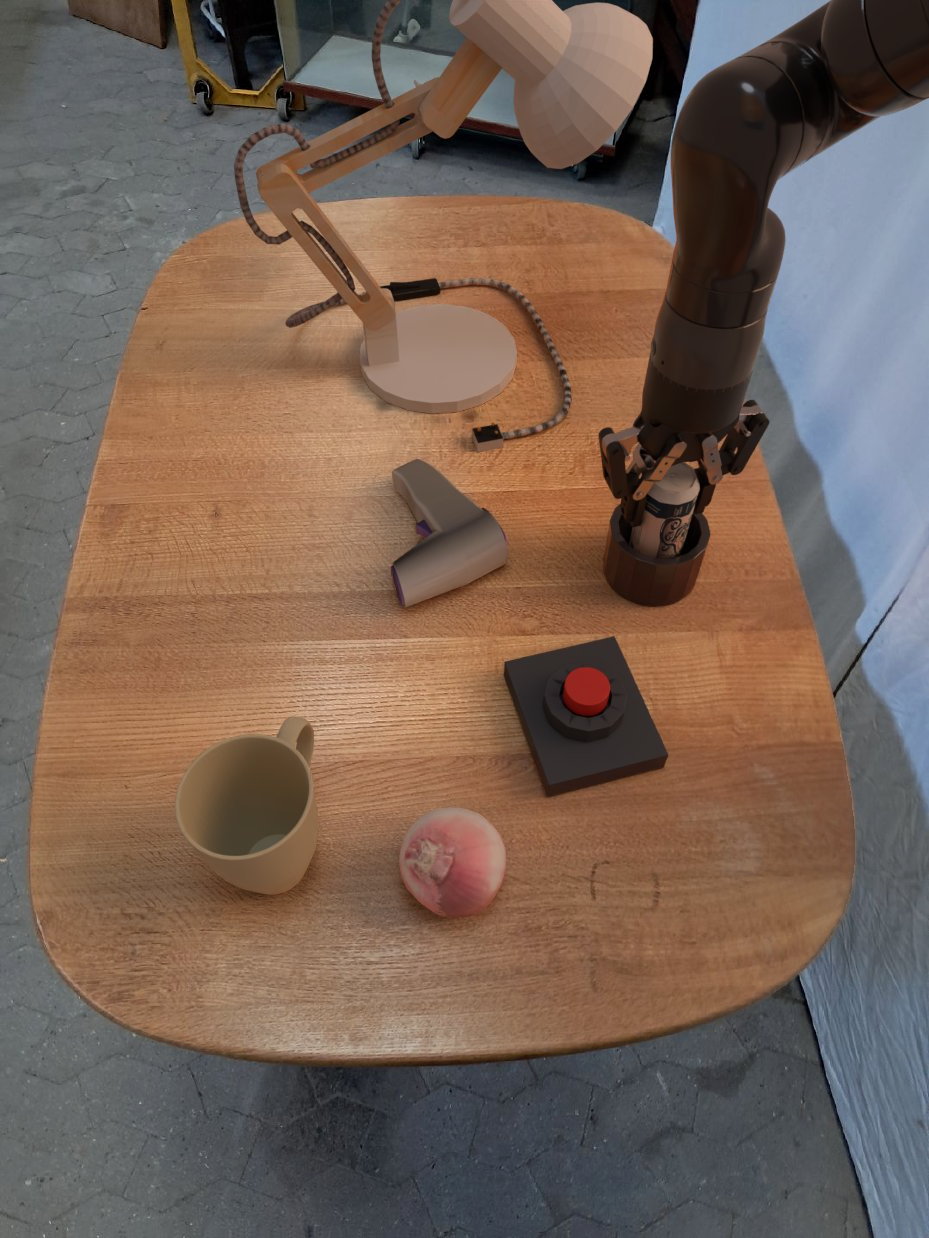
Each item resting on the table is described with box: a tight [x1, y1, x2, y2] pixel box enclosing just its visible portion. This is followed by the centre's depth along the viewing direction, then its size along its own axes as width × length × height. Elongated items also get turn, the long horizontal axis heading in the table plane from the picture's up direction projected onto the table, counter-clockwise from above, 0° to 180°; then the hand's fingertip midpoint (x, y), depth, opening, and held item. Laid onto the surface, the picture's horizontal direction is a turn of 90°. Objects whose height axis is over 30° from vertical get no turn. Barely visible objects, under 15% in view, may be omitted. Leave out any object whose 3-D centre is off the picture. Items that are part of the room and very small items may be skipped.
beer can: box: [629, 462, 700, 558], centre depth 81 cm, size 5×5×12 cm
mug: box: [174, 715, 320, 896], centre depth 65 cm, size 11×10×12 cm
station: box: [503, 636, 669, 798], centre depth 75 cm, size 12×10×4 cm
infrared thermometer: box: [390, 458, 509, 609], centre depth 86 cm, size 5×12×15 cm
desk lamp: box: [233, 0, 654, 453], centre depth 88 cm, size 31×38×40 cm
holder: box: [602, 502, 711, 608], centre depth 83 cm, size 9×9×6 cm
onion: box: [398, 806, 508, 919], centre depth 65 cm, size 8×8×7 cm
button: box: [563, 667, 610, 716], centre depth 73 cm, size 4×4×2 cm
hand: (663, 512), depth 79 cm, fingers open, 5 cm apart
